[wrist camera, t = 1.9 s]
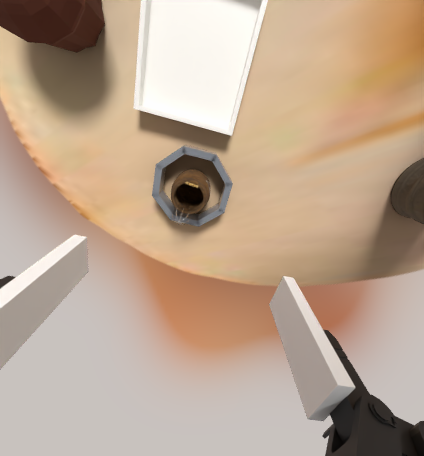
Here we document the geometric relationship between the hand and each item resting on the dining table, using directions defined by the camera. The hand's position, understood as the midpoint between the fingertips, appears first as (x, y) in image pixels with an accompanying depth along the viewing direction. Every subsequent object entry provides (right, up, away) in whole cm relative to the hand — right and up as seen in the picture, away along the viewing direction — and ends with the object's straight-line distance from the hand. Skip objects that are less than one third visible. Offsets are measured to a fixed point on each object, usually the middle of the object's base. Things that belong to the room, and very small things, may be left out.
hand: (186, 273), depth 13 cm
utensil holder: (-1, +10, +21) cm, 24 cm away
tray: (0, +26, +13) cm, 29 cm away
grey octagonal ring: (-1, +10, +21) cm, 23 cm away
